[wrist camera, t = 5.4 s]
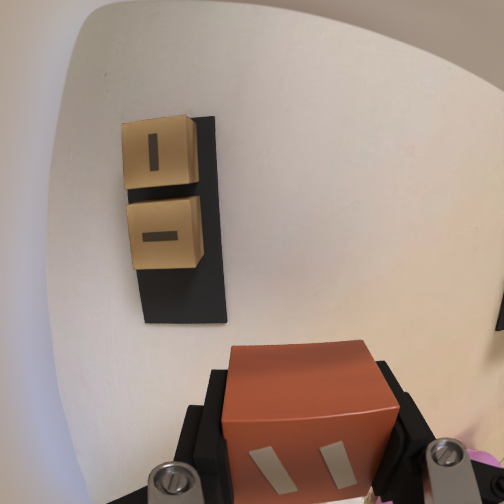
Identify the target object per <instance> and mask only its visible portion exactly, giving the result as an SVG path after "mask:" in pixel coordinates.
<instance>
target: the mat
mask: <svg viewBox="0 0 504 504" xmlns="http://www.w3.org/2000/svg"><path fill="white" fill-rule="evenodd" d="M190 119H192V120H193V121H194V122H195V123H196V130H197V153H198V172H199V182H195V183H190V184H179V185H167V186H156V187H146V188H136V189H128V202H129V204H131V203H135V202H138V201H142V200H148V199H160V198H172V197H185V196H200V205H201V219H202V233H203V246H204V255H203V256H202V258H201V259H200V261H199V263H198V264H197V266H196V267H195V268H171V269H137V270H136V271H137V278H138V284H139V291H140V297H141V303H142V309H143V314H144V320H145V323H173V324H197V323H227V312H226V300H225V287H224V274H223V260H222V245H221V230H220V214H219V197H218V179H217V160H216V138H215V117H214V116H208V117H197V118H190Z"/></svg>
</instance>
